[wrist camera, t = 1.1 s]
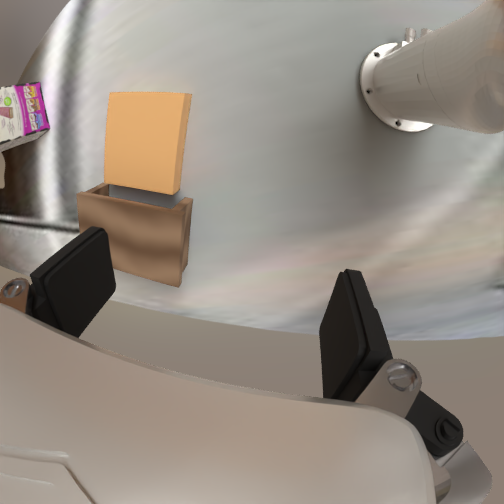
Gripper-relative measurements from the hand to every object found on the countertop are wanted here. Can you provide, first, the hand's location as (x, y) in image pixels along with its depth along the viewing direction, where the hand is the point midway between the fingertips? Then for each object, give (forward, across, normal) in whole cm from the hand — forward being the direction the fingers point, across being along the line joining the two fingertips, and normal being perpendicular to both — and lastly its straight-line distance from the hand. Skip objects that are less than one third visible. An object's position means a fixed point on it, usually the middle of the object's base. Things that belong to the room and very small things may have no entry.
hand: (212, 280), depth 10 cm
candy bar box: (+28, +44, -8) cm, 53 cm away
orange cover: (+28, +18, -2) cm, 33 cm away
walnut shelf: (+28, +18, +11) cm, 35 cm away
